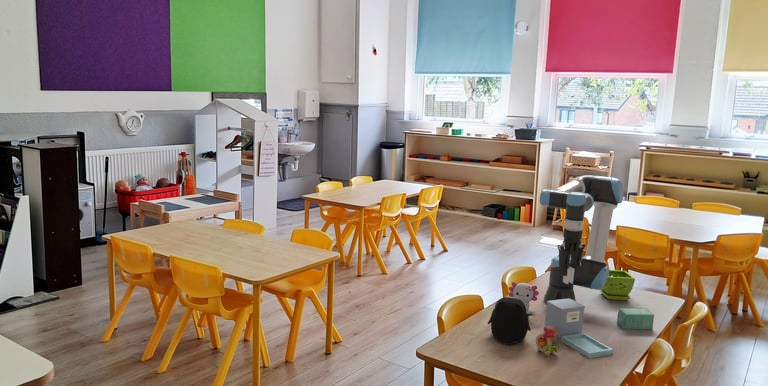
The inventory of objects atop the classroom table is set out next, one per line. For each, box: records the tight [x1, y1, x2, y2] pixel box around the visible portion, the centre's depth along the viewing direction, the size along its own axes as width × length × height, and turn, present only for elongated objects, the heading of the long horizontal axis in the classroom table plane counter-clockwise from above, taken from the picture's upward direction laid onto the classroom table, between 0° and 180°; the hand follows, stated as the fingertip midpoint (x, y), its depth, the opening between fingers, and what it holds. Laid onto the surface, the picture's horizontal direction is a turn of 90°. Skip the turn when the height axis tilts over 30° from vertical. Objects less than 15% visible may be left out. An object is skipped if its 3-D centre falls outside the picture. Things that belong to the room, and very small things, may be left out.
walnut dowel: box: [546, 326, 558, 346], centre depth 258 cm, size 5×5×6 cm
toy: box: [508, 281, 540, 315], centre depth 287 cm, size 14×8×15 cm, turn 68°
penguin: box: [487, 296, 532, 345], centre depth 259 cm, size 18×18×17 cm
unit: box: [544, 298, 586, 339], centre depth 268 cm, size 11×12×13 cm
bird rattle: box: [535, 326, 559, 357], centre depth 247 cm, size 6×11×9 cm
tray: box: [560, 332, 614, 359], centre depth 255 cm, size 17×12×2 cm
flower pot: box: [599, 269, 636, 301], centre depth 317 cm, size 14×14×13 cm
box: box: [616, 307, 655, 330], centre depth 279 cm, size 7×14×8 cm, turn 94°
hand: (567, 282), depth 266 cm, fingers open, 2 cm apart
